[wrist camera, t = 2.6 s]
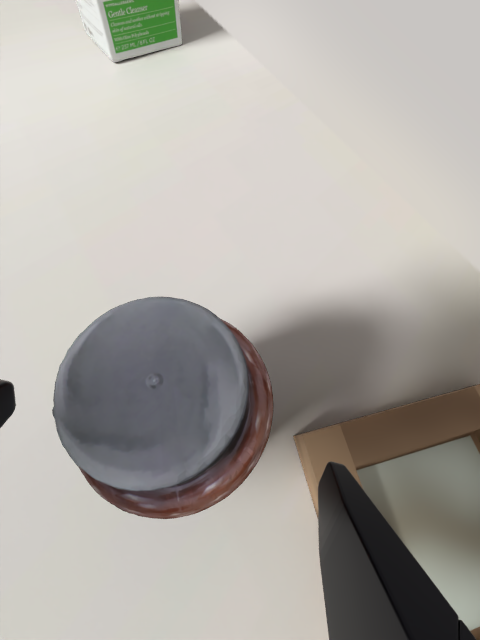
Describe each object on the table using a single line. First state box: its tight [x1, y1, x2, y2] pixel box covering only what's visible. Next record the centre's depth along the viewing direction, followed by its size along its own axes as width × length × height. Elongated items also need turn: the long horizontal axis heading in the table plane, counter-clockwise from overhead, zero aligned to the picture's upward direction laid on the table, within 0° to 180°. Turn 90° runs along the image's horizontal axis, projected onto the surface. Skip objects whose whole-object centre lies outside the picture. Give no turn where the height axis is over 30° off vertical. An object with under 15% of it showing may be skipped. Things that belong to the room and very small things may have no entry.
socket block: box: [293, 384, 480, 640], centre depth 14 cm, size 12×12×2 cm
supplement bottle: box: [52, 297, 273, 519], centre depth 11 cm, size 6×6×11 cm
